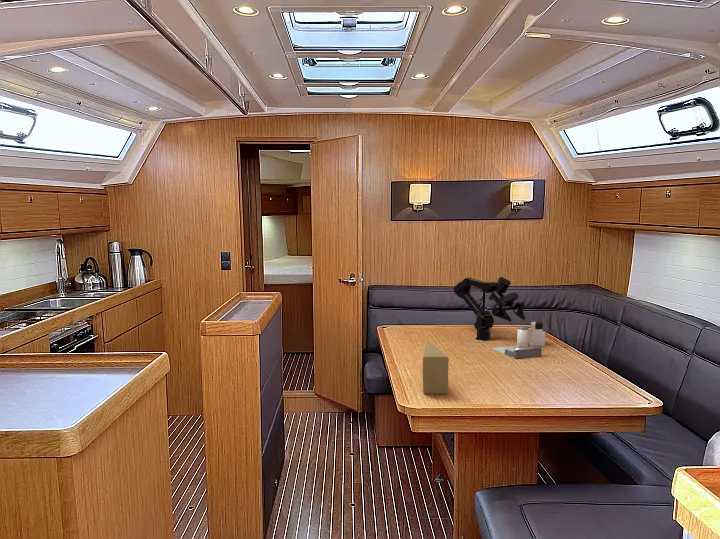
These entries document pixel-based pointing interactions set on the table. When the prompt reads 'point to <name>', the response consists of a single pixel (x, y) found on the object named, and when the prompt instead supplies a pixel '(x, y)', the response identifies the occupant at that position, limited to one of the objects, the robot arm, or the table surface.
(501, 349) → the sage mat
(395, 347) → the table surface
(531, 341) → the medicine bottle
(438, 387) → the cheese
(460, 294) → the robot arm
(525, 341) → the grey capped tube
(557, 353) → the table surface
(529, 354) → the dispenser rack
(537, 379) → the table surface
